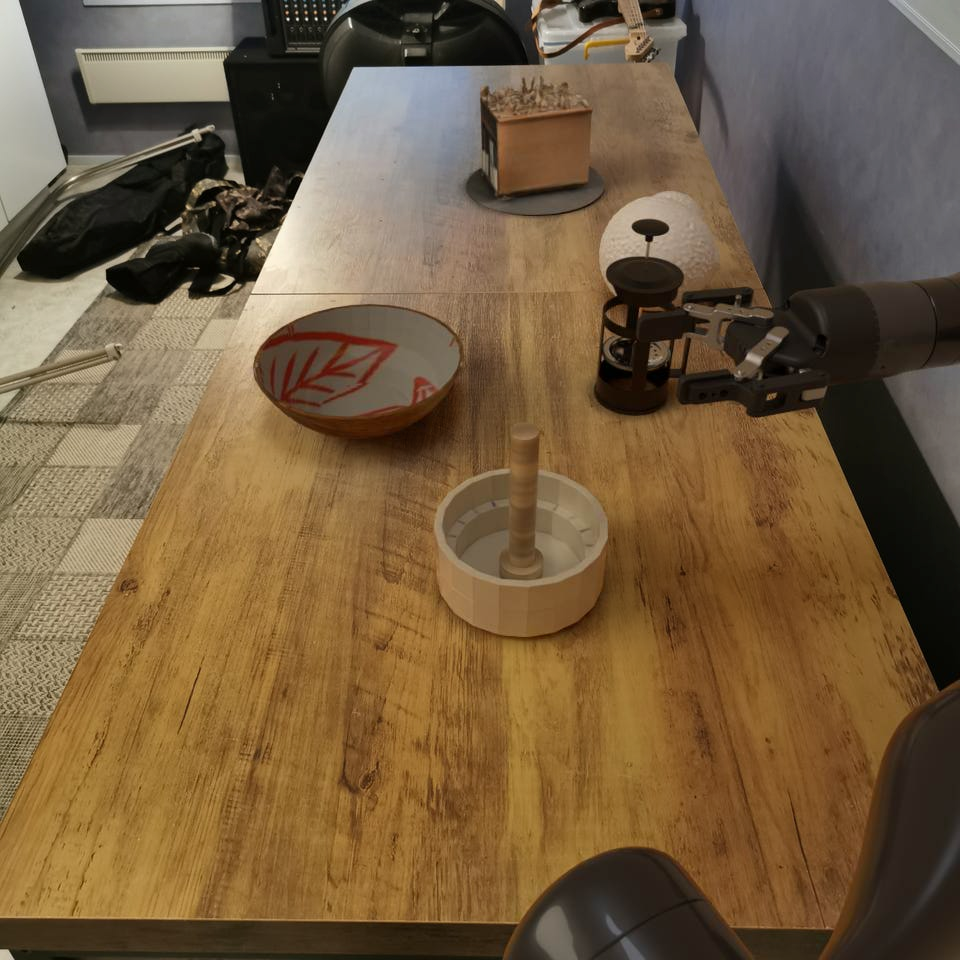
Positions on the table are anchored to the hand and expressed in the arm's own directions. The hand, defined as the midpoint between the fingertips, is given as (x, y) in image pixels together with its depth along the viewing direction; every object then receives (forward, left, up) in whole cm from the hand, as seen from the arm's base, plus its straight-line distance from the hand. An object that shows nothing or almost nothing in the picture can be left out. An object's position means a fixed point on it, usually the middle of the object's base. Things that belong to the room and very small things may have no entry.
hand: (657, 358), depth 69 cm
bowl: (+40, +20, -30) cm, 54 cm away
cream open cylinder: (+8, +8, -30) cm, 32 cm away
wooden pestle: (+8, +8, -29) cm, 32 cm away
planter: (+102, -18, -30) cm, 108 cm away
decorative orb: (+58, -24, -30) cm, 70 cm away
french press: (+36, -14, -30) cm, 49 cm away
